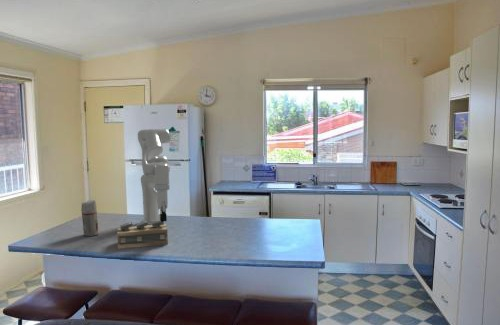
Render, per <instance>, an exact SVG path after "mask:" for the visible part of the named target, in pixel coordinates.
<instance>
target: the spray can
mask: <svg viewBox="0 0 500 325" xmlns="http://www.w3.org/2000/svg"><path fill="white" fill-rule="evenodd" d="M80 211H81V216H82V228H83V236H84V237H92V236H94V237H95V236H97V235H99V222H98V212H97V203H96V199H95V200H94V199H89V200H87V201H85V202H82V203H81V210H80Z"/></svg>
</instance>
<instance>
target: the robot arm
mask: <svg viewBox="0 0 500 325" xmlns="http://www.w3.org/2000/svg"><path fill="white" fill-rule="evenodd" d="M171 140H172V139H171V133H170V131H169V129H166V128H164V129H163V128H161V129H160V128H158V129H157V128H155V129H153V128H152V129H151V128H149V129H141V130H139V131H138V132H137V141H138V143H139V145H140V148H141V156H142V157H141V167H142V173H143V174H142V175H141V176H140V185H141V188H142V189H141V190H142V210H143V219H142V220H141V222H144V221H148V225H152V222H156V221H161V222H167V220H168V219H167V209H168V206H169V204H168V201H169V200H168V199H169V197H168V191H169V190H170V172H171V170H170V169H171V168H170V164H169V159H168V158H167V156H166V155H161V154H162V153H163V151H164V148H163V144H169V143H170V142H171Z"/></svg>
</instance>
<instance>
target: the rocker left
mask: <svg viewBox="0 0 500 325" xmlns="http://www.w3.org/2000/svg"><path fill="white" fill-rule="evenodd" d="M124 226H128V228H129V227H132V226H134V225H133V222H132V221H131V222H127V223H123V224H121V225H120V226H119V227H120V228H121V230H123V229H124Z"/></svg>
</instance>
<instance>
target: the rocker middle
mask: <svg viewBox="0 0 500 325" xmlns="http://www.w3.org/2000/svg"><path fill="white" fill-rule="evenodd" d="M140 225H144V226H147V225H149V224H148V221H144V222H142V223H140V222H139V223H136V224H135V226H136V227H137V229H138V228H141V227H140Z"/></svg>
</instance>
